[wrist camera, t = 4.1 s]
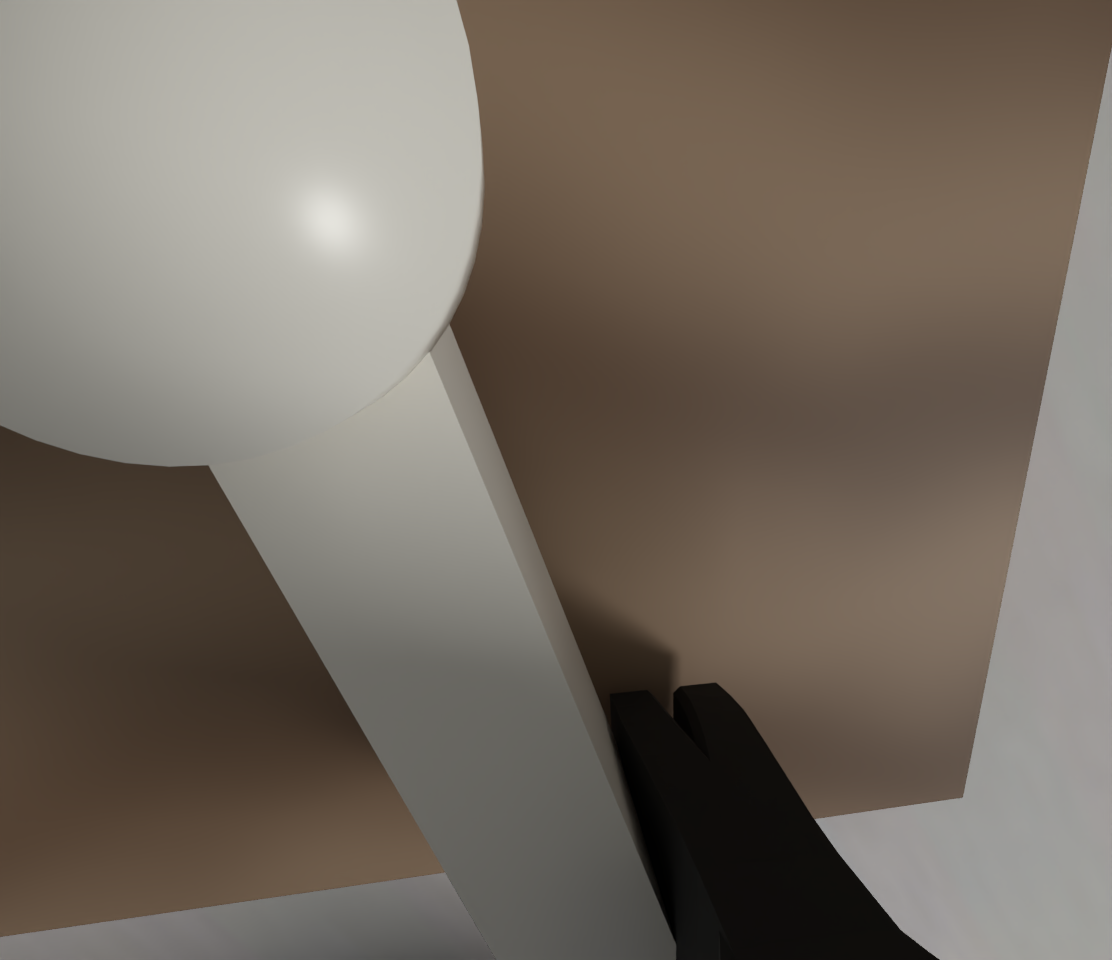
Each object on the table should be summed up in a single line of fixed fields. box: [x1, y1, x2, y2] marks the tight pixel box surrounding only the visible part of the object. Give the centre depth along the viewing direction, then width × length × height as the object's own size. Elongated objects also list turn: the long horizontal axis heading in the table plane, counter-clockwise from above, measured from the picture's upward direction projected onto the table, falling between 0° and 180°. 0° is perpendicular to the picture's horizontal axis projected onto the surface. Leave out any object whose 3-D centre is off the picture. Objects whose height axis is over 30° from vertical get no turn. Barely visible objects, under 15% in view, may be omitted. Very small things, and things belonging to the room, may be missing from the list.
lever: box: [0, 0, 676, 960], centre depth 5 cm, size 15×4×4 cm, turn 20°
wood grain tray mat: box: [0, 0, 1112, 937], centre depth 7 cm, size 18×20×1 cm
